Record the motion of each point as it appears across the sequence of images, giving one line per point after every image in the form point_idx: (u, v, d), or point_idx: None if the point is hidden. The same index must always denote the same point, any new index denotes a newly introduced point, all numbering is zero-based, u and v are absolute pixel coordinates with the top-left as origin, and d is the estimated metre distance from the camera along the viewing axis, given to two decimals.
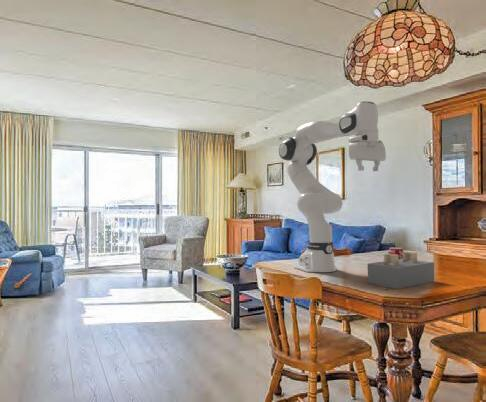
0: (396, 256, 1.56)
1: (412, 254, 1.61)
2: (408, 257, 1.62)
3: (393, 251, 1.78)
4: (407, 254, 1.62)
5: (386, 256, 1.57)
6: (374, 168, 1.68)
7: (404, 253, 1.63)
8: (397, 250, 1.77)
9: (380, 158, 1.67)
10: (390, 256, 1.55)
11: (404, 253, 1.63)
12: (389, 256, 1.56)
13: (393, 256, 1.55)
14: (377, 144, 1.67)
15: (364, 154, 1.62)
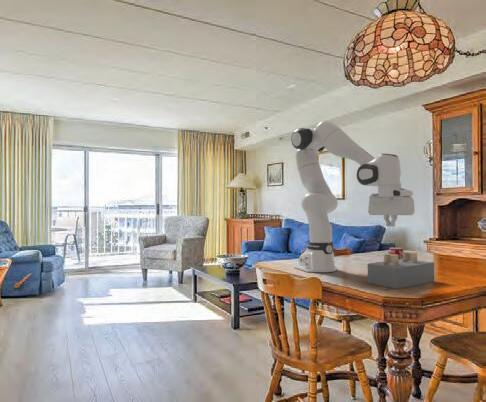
0: (396, 256, 1.56)
1: (412, 254, 1.61)
2: (408, 257, 1.62)
3: (393, 251, 1.78)
4: (407, 254, 1.62)
5: (386, 256, 1.57)
6: None
7: (404, 253, 1.63)
8: (397, 250, 1.77)
9: None
10: (390, 256, 1.55)
11: (404, 253, 1.63)
12: (389, 256, 1.56)
13: (393, 256, 1.55)
14: None
15: None
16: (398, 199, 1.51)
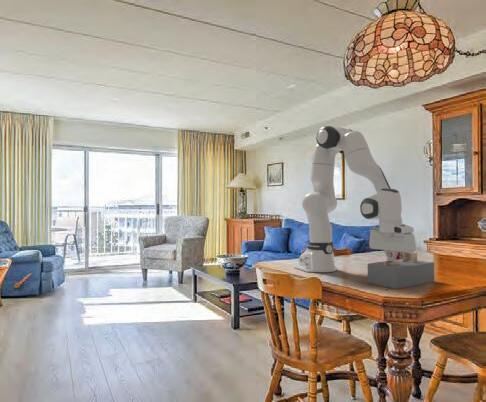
0: (396, 263, 1.56)
1: (412, 254, 1.61)
2: (408, 257, 1.62)
3: None
4: (407, 254, 1.62)
5: (386, 263, 1.57)
6: None
7: (404, 253, 1.63)
8: None
9: None
10: (390, 263, 1.55)
11: (404, 253, 1.63)
12: (389, 263, 1.56)
13: (393, 263, 1.55)
14: None
15: None
16: (399, 236, 1.51)
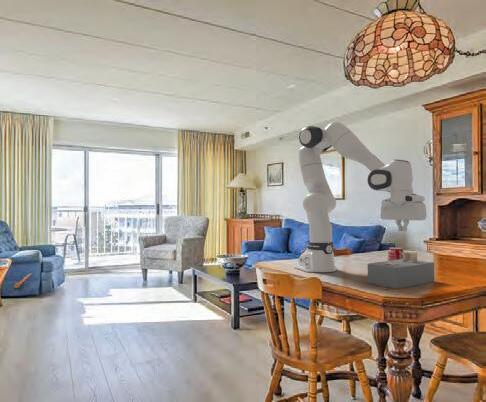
0: None
1: (412, 254, 1.61)
2: (408, 257, 1.62)
3: (393, 251, 1.78)
4: (407, 254, 1.62)
5: None
6: None
7: (404, 253, 1.63)
8: (397, 250, 1.77)
9: None
10: None
11: (404, 253, 1.63)
12: None
13: None
14: None
15: None
16: (410, 204, 1.54)
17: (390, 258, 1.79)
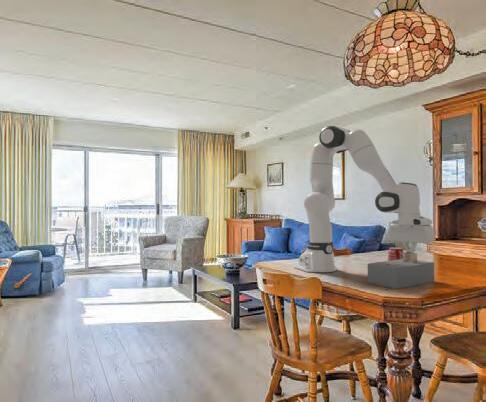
0: None
1: (412, 255, 1.61)
2: (408, 258, 1.62)
3: (393, 251, 1.78)
4: (407, 254, 1.62)
5: None
6: None
7: (404, 254, 1.63)
8: (397, 250, 1.77)
9: None
10: None
11: (404, 253, 1.63)
12: None
13: None
14: None
15: None
16: (419, 227, 1.57)
17: (390, 258, 1.79)
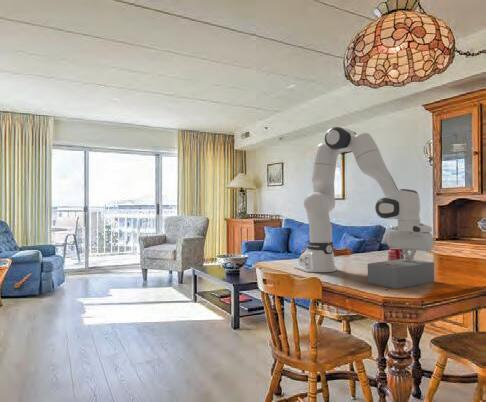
0: None
1: None
2: None
3: (393, 251, 1.78)
4: None
5: None
6: None
7: None
8: (397, 250, 1.77)
9: None
10: None
11: (404, 261, 1.63)
12: None
13: None
14: None
15: None
16: (418, 235, 1.57)
17: (390, 258, 1.79)
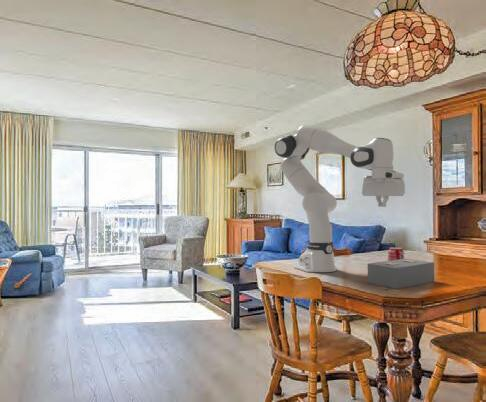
0: None
1: None
2: None
3: (393, 251, 1.78)
4: None
5: None
6: None
7: None
8: (397, 250, 1.77)
9: None
10: None
11: (404, 261, 1.63)
12: None
13: None
14: None
15: None
16: (390, 181, 1.61)
17: (390, 258, 1.79)
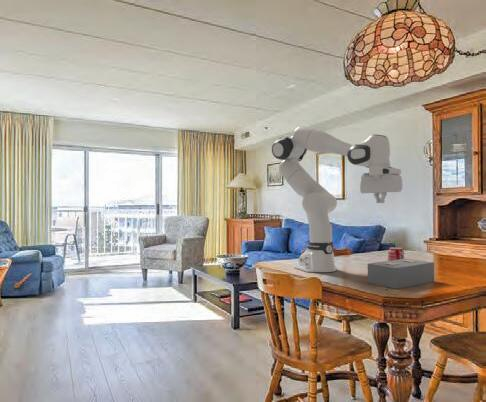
0: None
1: None
2: None
3: (393, 251, 1.78)
4: None
5: None
6: None
7: None
8: (397, 250, 1.77)
9: None
10: None
11: (404, 261, 1.63)
12: None
13: None
14: None
15: None
16: (387, 177, 1.61)
17: (390, 258, 1.79)
